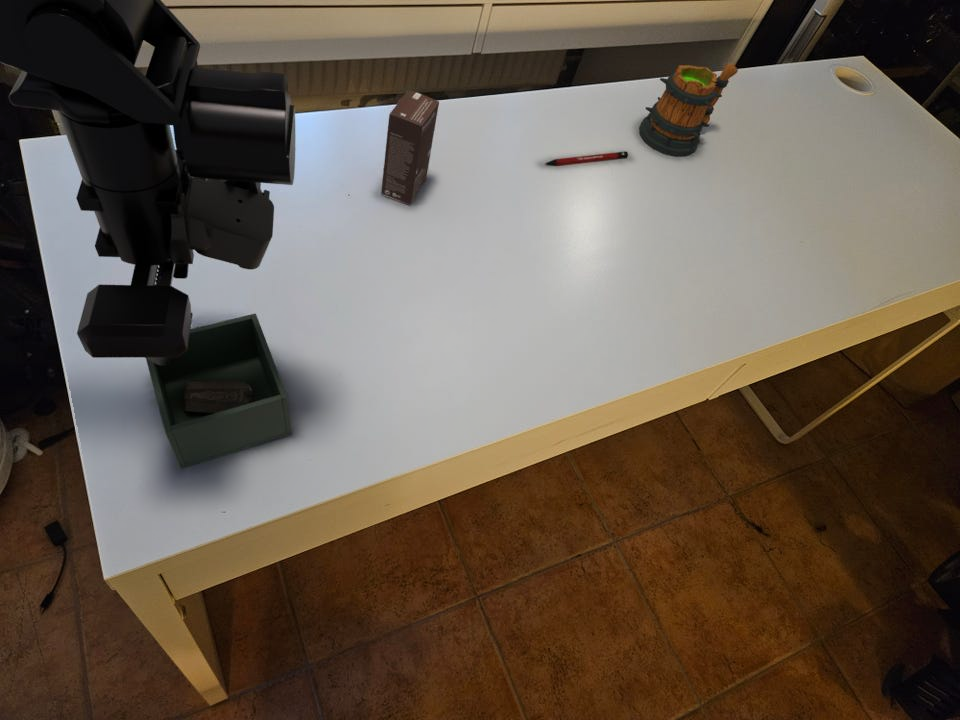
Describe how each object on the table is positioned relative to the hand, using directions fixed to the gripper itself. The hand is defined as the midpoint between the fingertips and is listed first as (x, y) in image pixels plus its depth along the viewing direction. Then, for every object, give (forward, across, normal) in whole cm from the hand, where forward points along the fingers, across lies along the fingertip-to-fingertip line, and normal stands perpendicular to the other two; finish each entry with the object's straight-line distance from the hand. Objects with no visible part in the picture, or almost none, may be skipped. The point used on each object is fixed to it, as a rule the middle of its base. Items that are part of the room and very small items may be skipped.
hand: (174, 318), depth 54 cm
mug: (+11, +47, -66) cm, 82 cm away
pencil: (+11, +39, -49) cm, 64 cm away
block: (+11, -2, -2) cm, 11 cm away
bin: (+12, -2, -3) cm, 12 cm away
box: (+11, +32, -22) cm, 40 cm away
